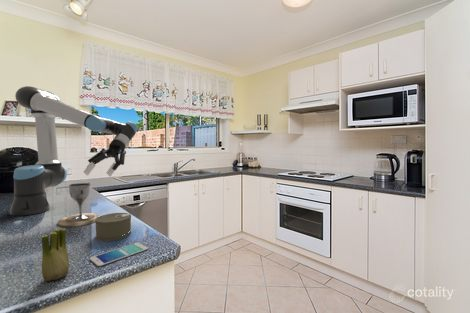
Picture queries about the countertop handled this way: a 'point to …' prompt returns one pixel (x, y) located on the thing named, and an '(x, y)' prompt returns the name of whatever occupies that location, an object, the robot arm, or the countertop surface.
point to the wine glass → (79, 196)
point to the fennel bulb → (54, 255)
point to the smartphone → (117, 254)
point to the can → (113, 226)
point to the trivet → (71, 223)
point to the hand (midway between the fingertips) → (96, 174)
